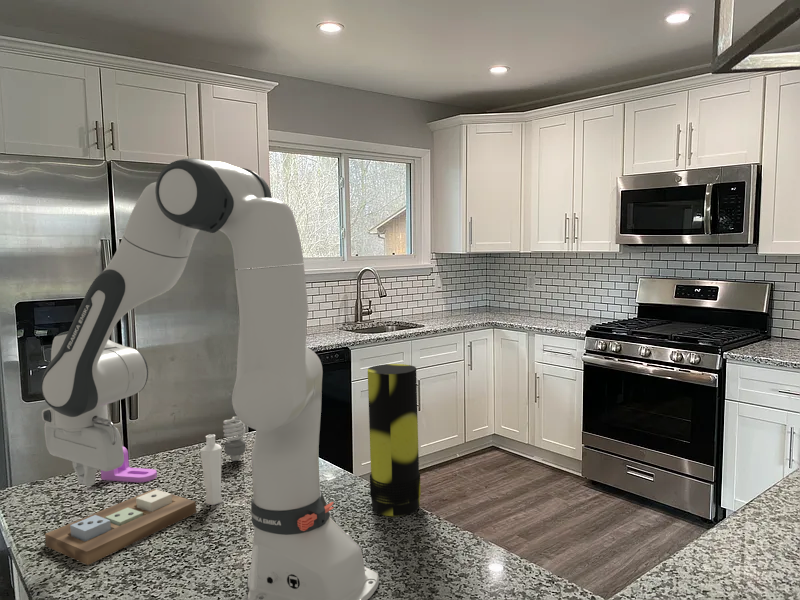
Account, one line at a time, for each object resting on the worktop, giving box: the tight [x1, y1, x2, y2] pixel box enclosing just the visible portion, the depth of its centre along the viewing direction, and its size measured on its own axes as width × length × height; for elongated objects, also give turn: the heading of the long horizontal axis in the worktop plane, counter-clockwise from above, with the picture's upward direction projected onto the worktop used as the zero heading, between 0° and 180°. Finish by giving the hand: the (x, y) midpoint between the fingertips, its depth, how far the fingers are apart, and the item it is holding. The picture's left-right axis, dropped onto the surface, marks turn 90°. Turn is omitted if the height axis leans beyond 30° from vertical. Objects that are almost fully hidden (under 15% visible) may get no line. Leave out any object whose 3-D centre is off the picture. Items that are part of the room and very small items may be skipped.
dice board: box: [44, 488, 197, 566], centre depth 121 cm, size 14×24×2 cm, turn 148°
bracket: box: [100, 445, 158, 483], centre depth 149 cm, size 13×6×7 cm, turn 77°
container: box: [367, 363, 422, 517], centre depth 127 cm, size 11×11×30 cm
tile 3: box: [70, 515, 111, 542], centre depth 115 cm, size 5×5×3 cm
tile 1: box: [136, 489, 173, 512], centre depth 127 cm, size 5×5×3 cm
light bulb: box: [222, 416, 246, 462], centre depth 158 cm, size 6×6×12 cm
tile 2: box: [105, 508, 143, 526], centre depth 121 cm, size 5×5×3 cm
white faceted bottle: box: [199, 434, 224, 506], centre depth 133 cm, size 5×4×15 cm
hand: (86, 484), depth 115 cm, fingers closed
